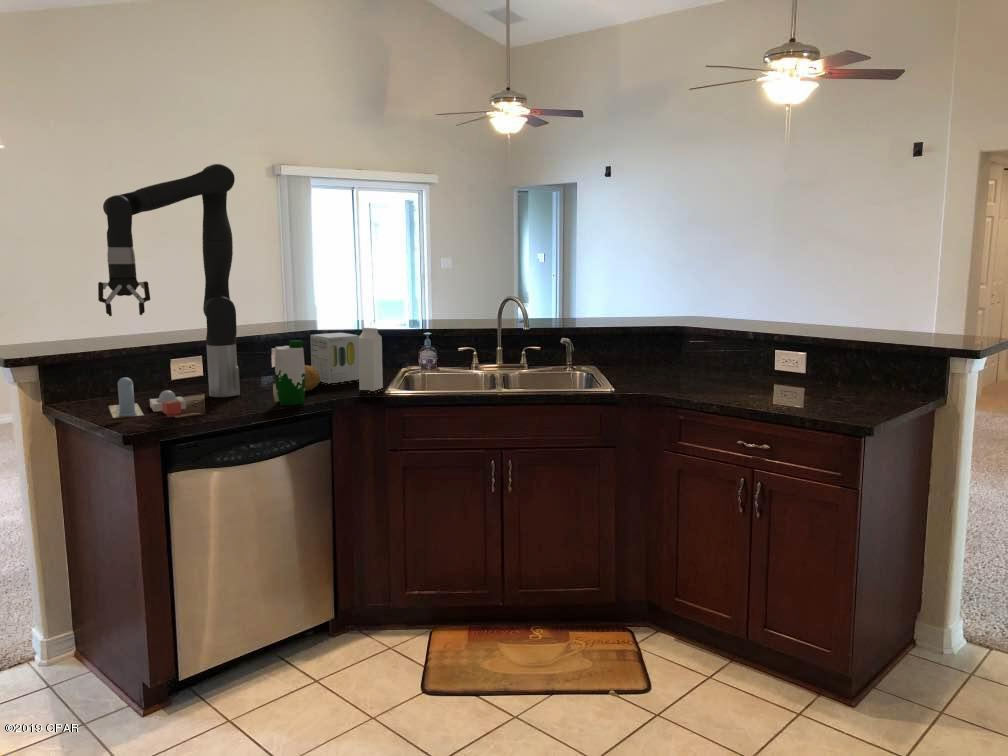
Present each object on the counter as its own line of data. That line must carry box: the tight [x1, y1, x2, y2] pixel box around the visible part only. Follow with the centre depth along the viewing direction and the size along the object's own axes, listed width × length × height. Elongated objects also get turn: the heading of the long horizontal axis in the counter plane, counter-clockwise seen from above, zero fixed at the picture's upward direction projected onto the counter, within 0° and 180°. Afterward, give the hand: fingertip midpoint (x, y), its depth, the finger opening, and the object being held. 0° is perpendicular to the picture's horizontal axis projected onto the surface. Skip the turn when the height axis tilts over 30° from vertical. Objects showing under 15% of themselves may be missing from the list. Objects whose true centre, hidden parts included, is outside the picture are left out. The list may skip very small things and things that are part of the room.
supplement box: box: [310, 332, 359, 384], centre depth 284 cm, size 13×13×18 cm
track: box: [108, 402, 145, 421], centre depth 227 cm, size 8×20×1 cm, turn 31°
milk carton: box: [274, 339, 306, 406], centre depth 242 cm, size 9×9×20 cm
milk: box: [358, 327, 384, 391], centre depth 264 cm, size 6×6×22 cm
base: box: [149, 396, 187, 413], centre depth 231 cm, size 9×9×3 cm
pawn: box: [117, 376, 136, 418], centre depth 220 cm, size 5×5×11 cm
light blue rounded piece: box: [157, 389, 177, 403], centre depth 231 cm, size 5×5×6 cm
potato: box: [305, 364, 320, 392], centre depth 263 cm, size 10×13×9 cm
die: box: [162, 400, 182, 418], centre depth 224 cm, size 4×4×4 cm
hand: (125, 315), depth 235 cm, fingers open, 8 cm apart
